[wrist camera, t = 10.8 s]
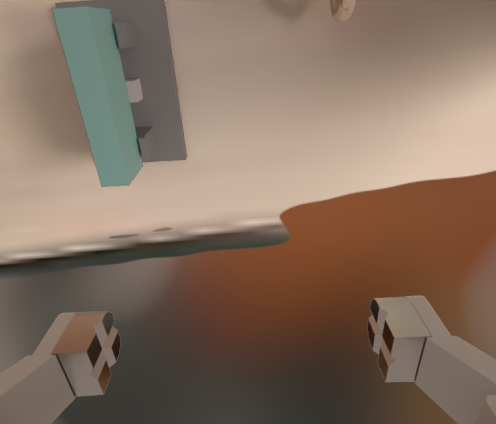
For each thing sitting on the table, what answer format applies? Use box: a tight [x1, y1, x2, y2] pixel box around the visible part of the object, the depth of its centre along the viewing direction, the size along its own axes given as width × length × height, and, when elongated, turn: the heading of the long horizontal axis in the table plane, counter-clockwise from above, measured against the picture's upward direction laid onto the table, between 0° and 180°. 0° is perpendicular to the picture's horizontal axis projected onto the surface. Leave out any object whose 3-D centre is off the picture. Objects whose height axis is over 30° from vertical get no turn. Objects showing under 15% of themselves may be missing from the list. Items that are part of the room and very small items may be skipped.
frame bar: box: [52, 7, 143, 187], centre depth 31 cm, size 2×14×5 cm, turn 3°
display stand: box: [55, 0, 187, 162], centre depth 35 cm, size 10×16×6 cm, turn 3°
